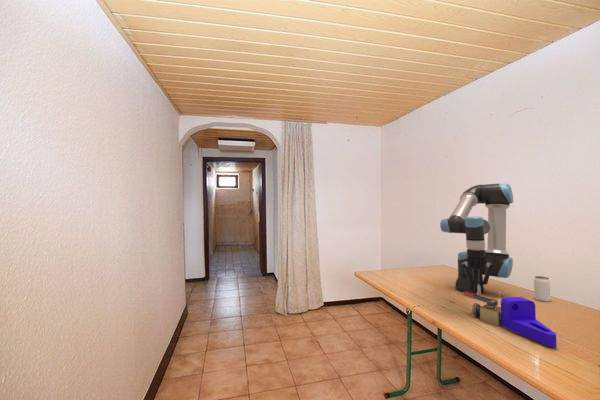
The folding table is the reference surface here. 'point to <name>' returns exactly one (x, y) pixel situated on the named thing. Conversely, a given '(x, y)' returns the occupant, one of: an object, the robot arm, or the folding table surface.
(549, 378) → the folding table surface
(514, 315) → the bracket
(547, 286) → the can
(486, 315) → the valve
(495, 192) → the robot arm
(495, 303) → the lever
